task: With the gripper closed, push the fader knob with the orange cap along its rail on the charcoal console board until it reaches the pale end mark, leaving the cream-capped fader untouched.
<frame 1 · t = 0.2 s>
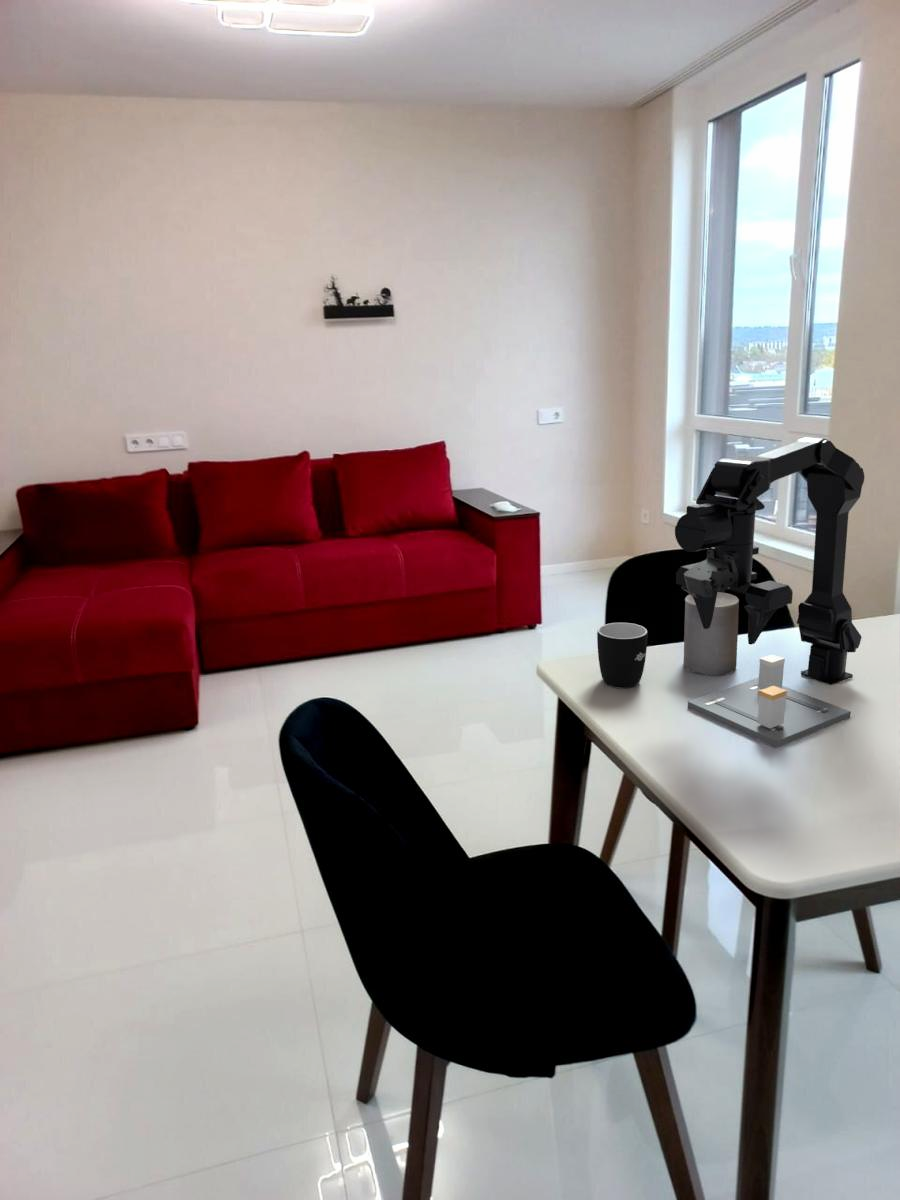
hand: (728, 636, 131), 14 cm above the table, fingers open, 9 cm apart
fader 1: (771, 707, 128), point 4 cm above the table, slide at 5.0 cm
mug: (623, 679, 153), on the table
fader 2: (771, 673, 141), point 4 cm above the table, slide at -4.0 cm
pillar candle: (708, 667, 156), on the table
console: (767, 712, 136), on the table
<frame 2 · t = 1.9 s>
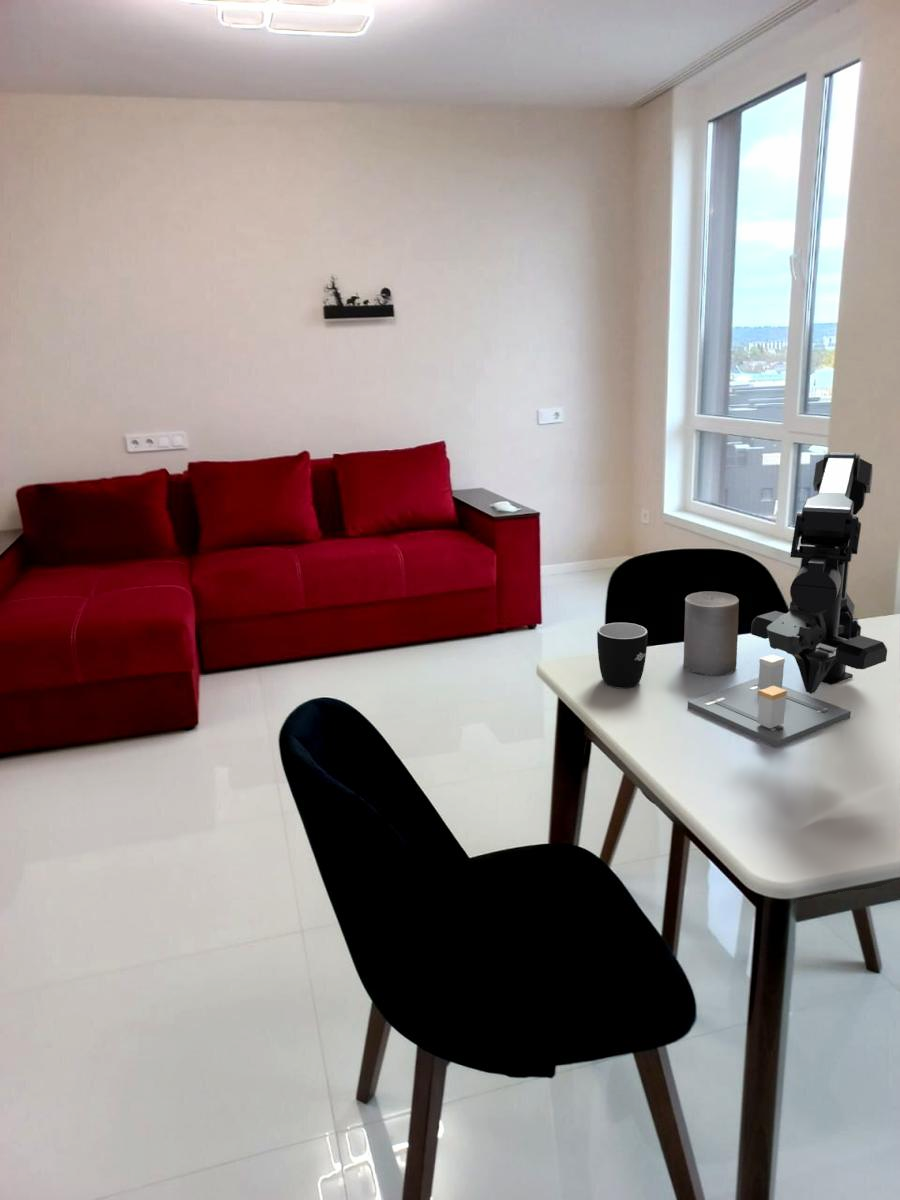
hand: (810, 692, 121), 9 cm above the table, fingers closed
nothing on the table moved.
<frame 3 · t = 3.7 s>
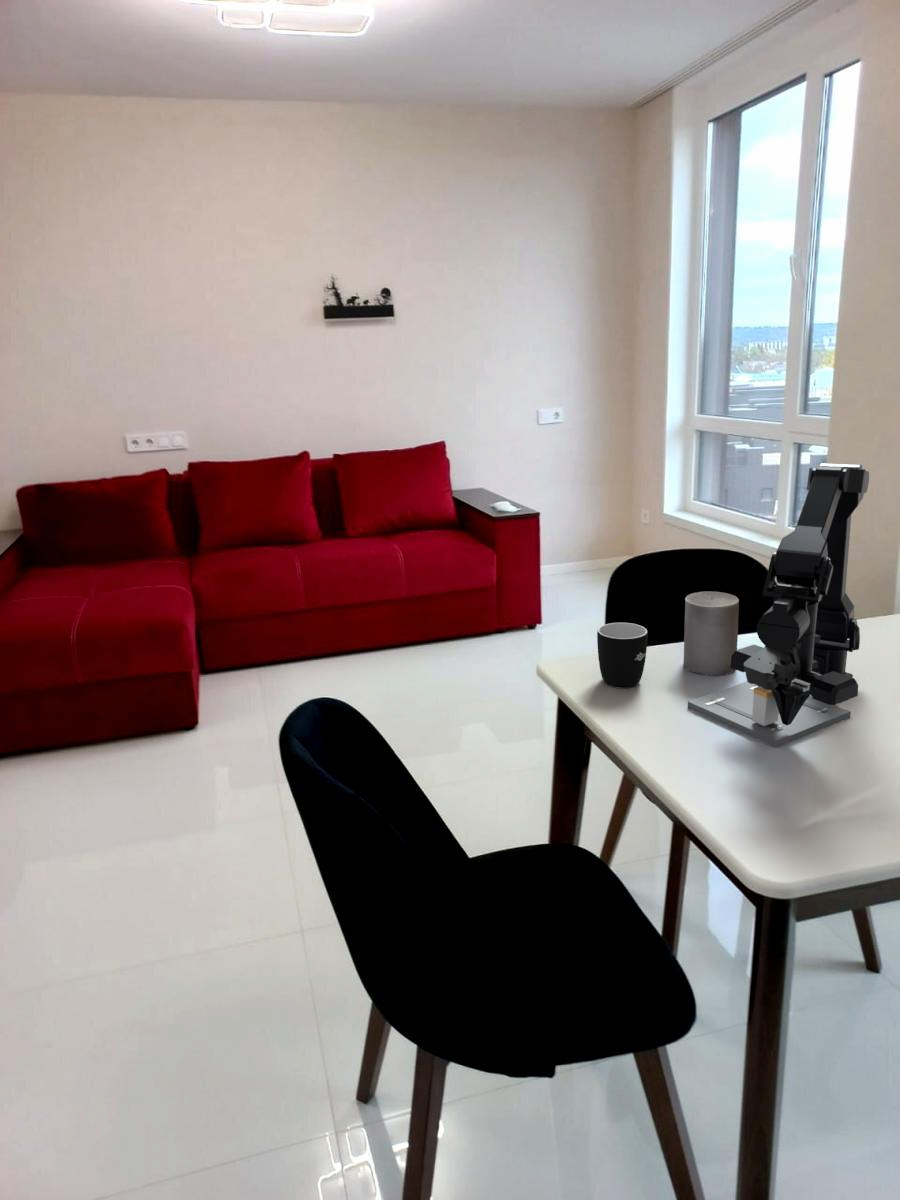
hand: (786, 724, 126), 3 cm above the table, fingers closed
fader 1: (766, 704, 129), point 4 cm above the table, slide at 3.9 cm, touching gripper
everything else where it was.
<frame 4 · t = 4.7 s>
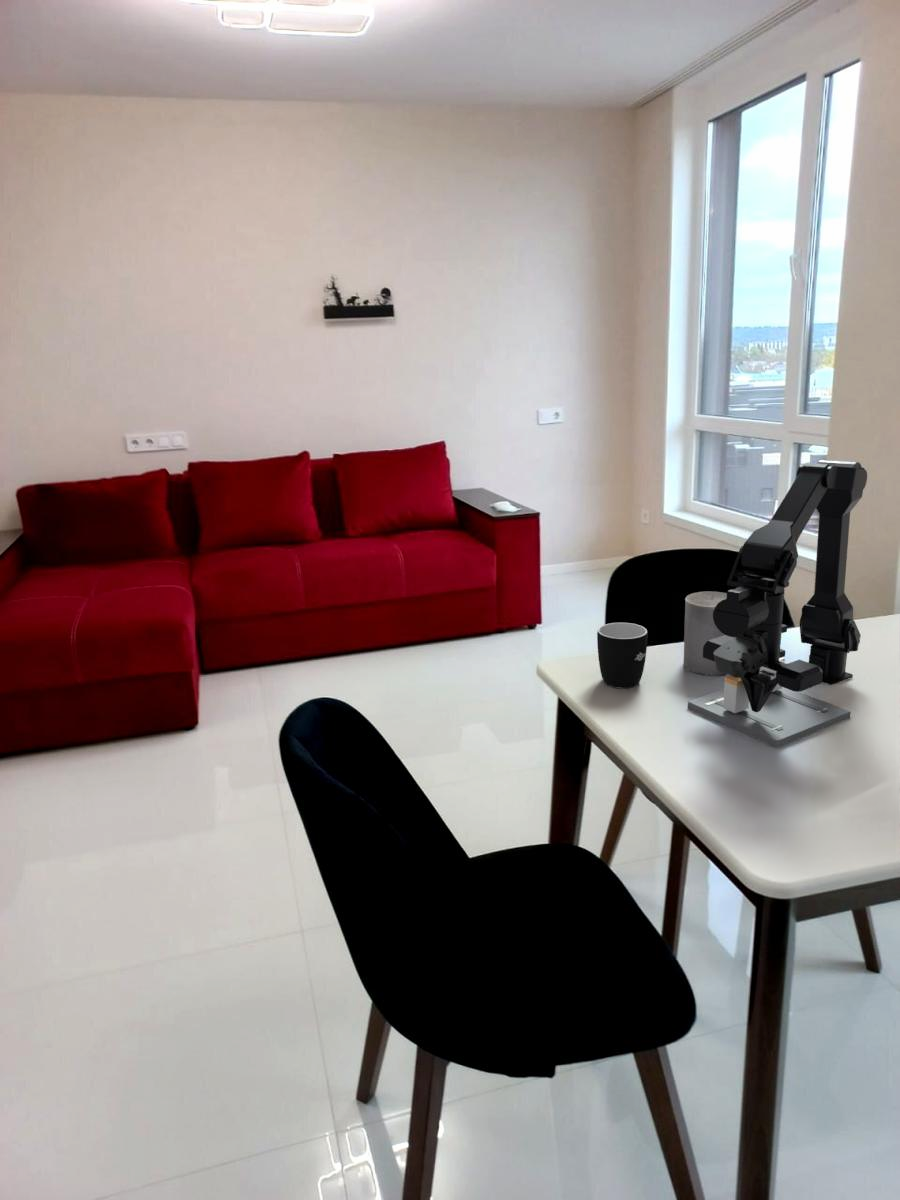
hand: (756, 711, 131), 3 cm above the table, fingers closed
fader 1: (736, 692, 134), point 4 cm above the table, slide at -1.9 cm, touching gripper
everything else where it was.
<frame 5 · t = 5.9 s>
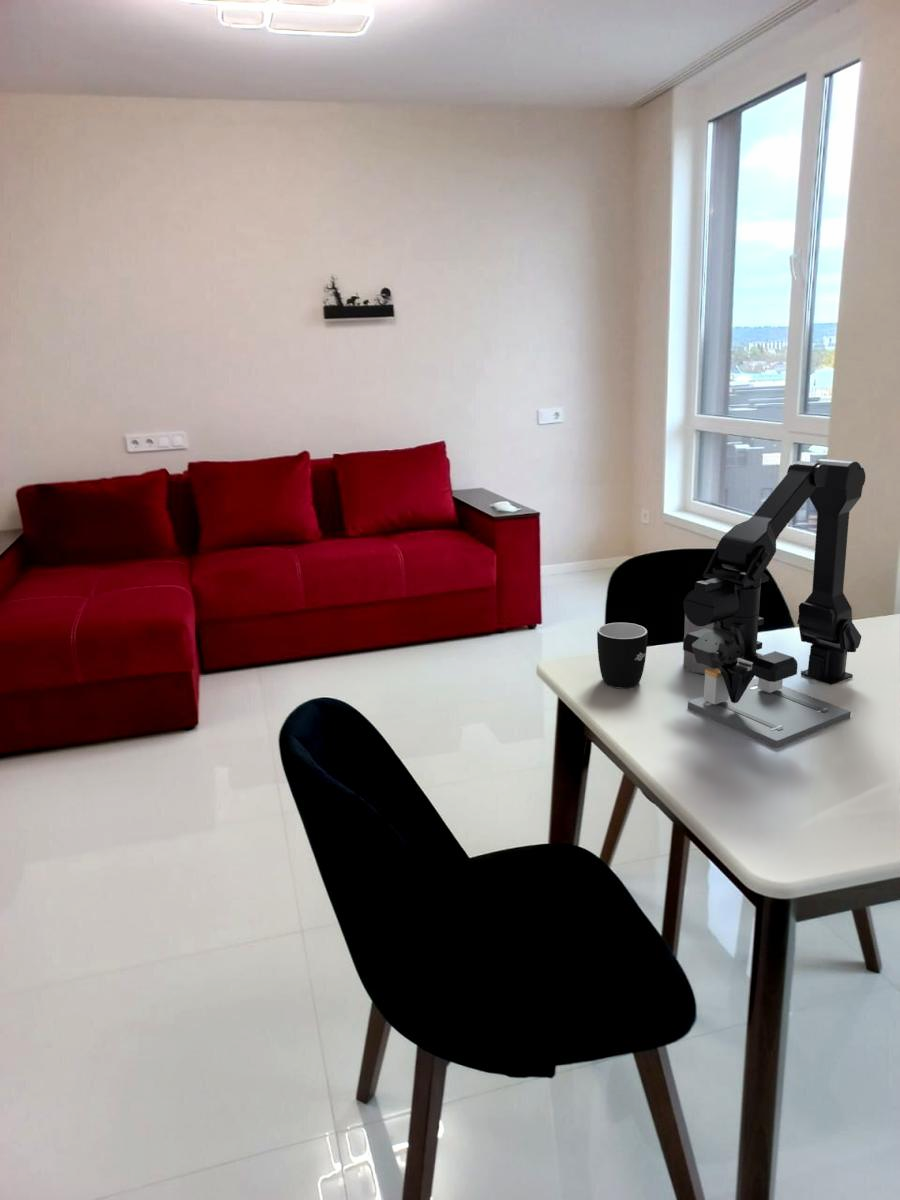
hand: (734, 702, 134), 3 cm above the table, fingers closed
fader 1: (716, 684, 137), point 4 cm above the table, slide at -6.1 cm, touching gripper
everything else where it was.
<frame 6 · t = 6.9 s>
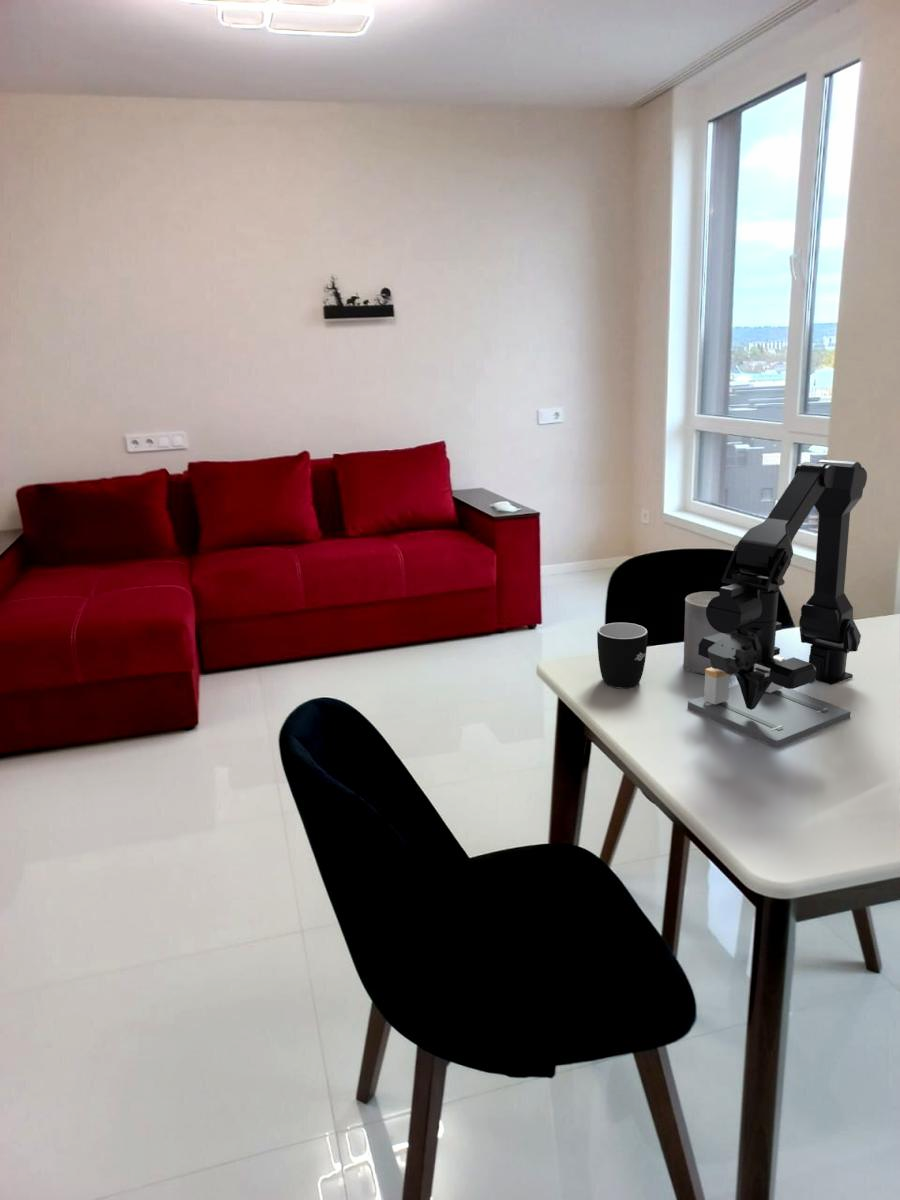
hand: (750, 708, 132), 3 cm above the table, fingers closed
fader 1: (717, 684, 137), point 4 cm above the table, slide at -6.0 cm
everything else where it was.
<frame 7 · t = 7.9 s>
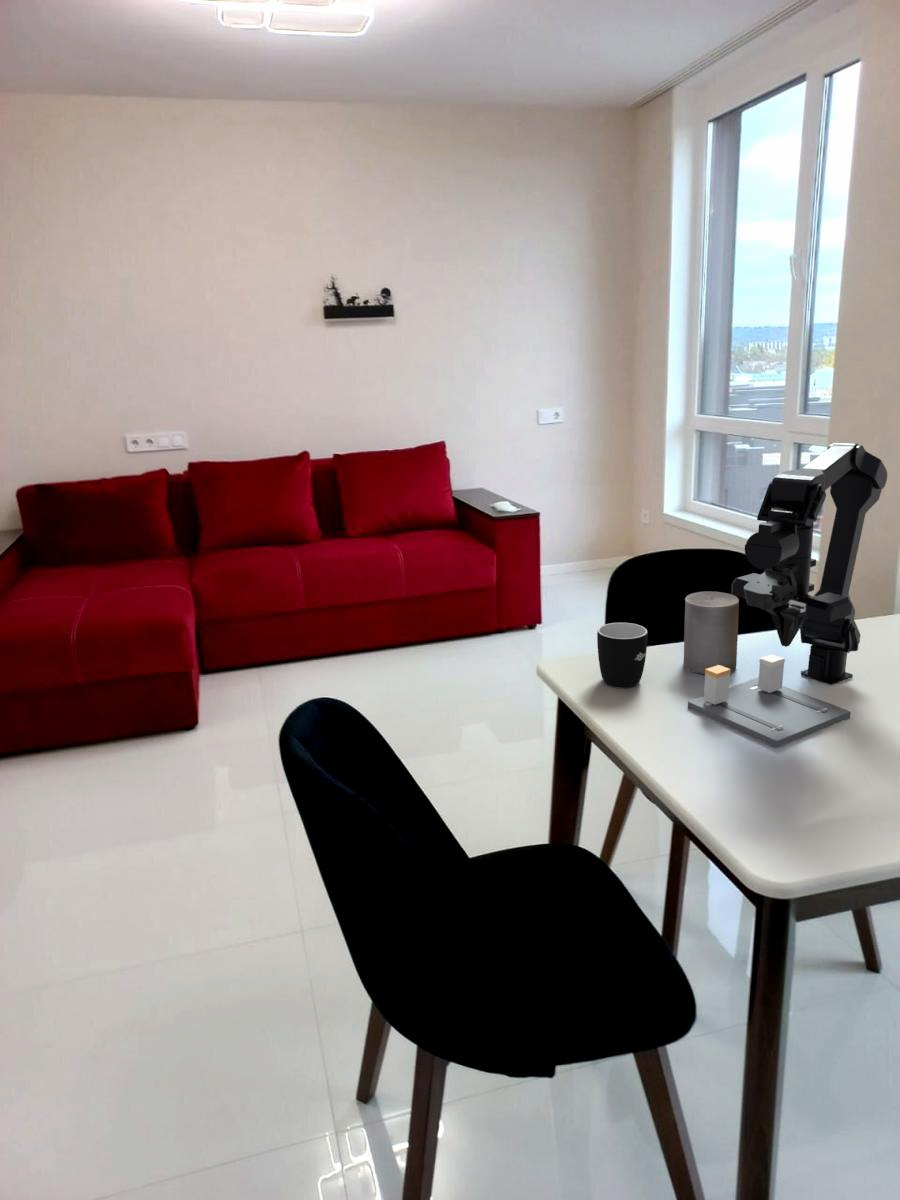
hand: (785, 645, 134), 11 cm above the table, fingers closed
nothing on the table moved.
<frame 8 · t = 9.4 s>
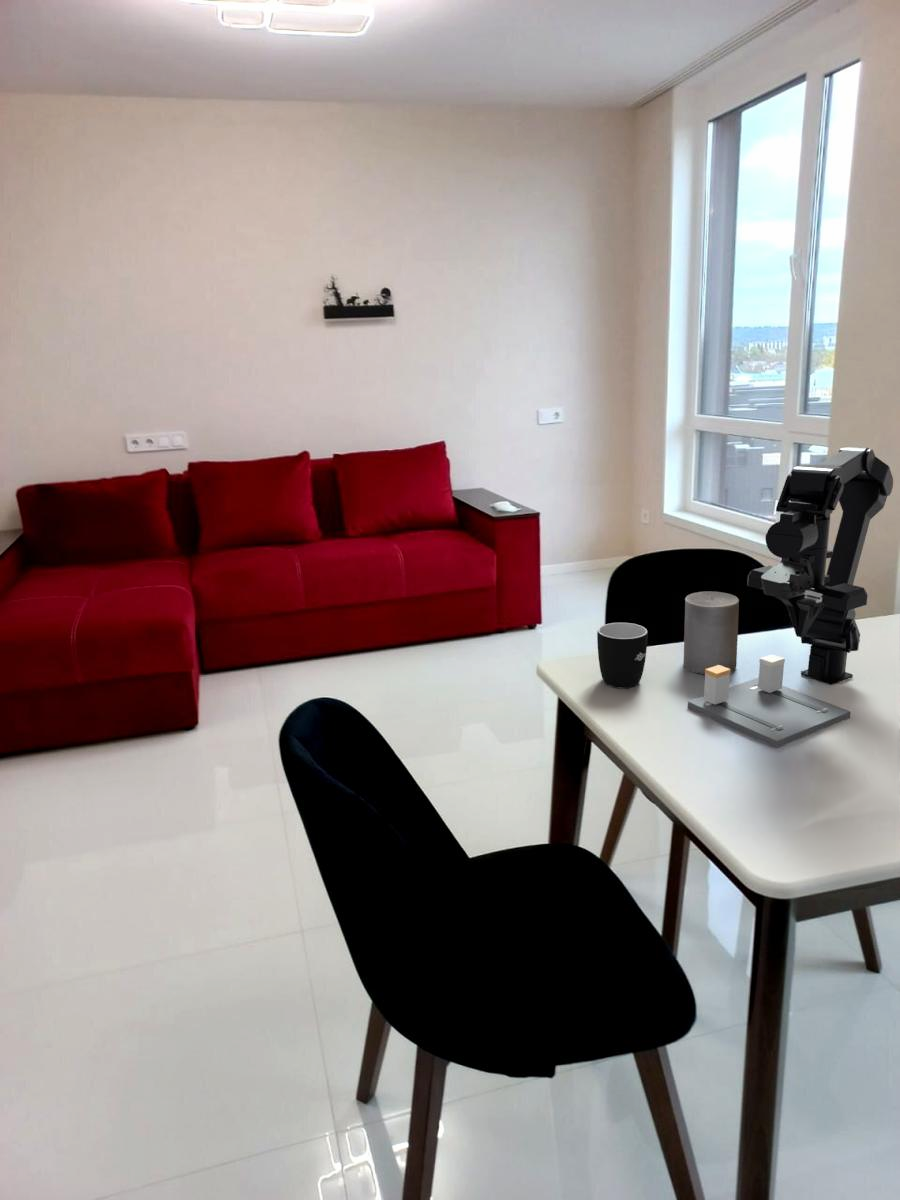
hand: (800, 636, 136), 12 cm above the table, fingers closed
nothing on the table moved.
at the end: fader 1 slide at -6.0 cm; fader 2 slide at -4.0 cm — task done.
